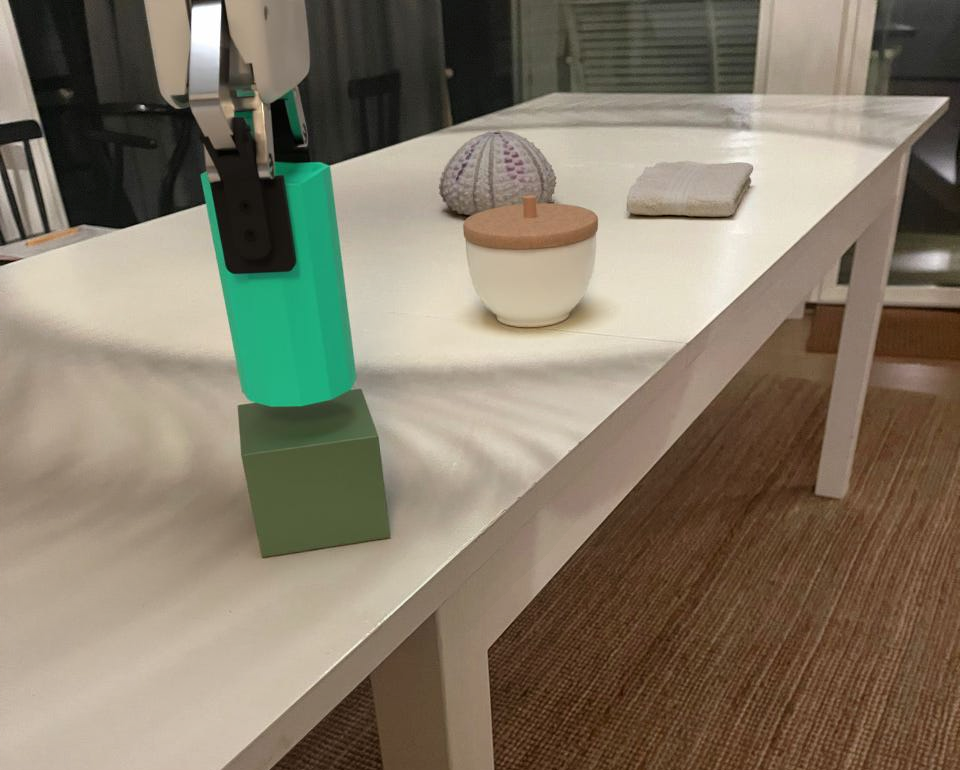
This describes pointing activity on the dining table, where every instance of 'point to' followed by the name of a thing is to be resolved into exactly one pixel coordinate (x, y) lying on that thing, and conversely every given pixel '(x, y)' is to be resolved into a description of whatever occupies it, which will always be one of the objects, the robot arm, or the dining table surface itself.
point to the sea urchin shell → (495, 174)
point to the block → (313, 474)
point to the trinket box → (531, 260)
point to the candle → (293, 302)
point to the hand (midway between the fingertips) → (276, 248)
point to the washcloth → (689, 189)
